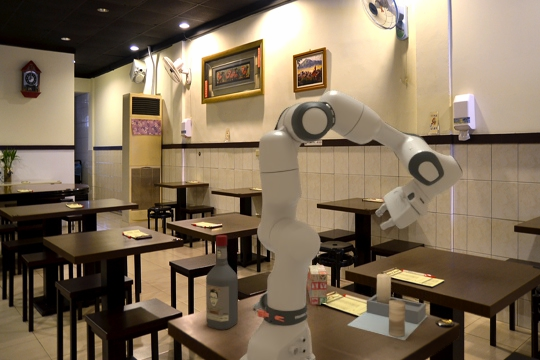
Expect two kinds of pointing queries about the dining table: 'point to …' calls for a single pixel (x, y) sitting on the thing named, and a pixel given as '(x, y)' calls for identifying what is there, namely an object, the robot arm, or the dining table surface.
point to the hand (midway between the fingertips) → (378, 220)
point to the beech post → (396, 318)
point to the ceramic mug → (261, 302)
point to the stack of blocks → (317, 284)
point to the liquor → (221, 290)
